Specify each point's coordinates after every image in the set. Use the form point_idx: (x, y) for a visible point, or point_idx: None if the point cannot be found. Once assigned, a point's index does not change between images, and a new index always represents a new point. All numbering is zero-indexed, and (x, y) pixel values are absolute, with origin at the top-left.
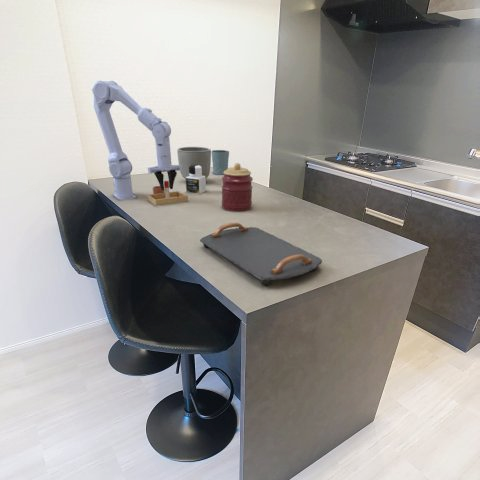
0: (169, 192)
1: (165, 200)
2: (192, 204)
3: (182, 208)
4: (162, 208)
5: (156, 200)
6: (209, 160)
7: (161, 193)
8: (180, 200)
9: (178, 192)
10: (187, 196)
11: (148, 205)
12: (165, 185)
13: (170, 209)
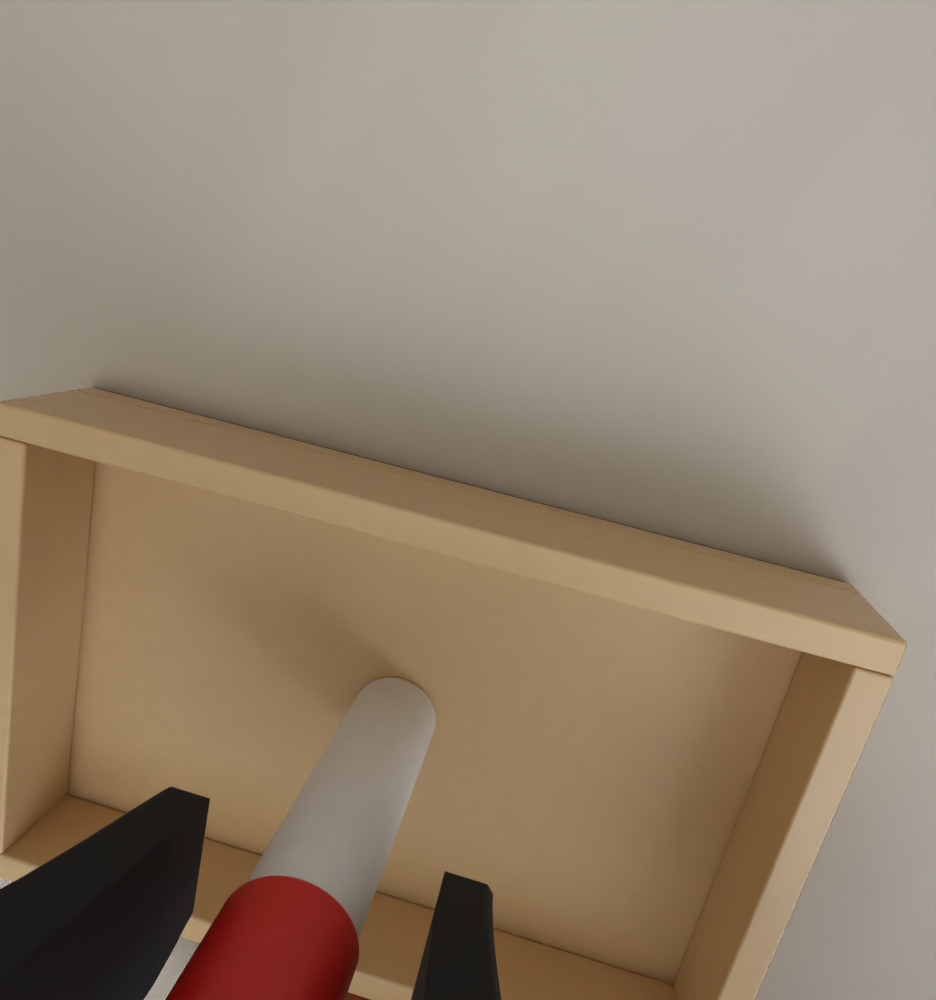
0: (187, 926)
1: (611, 553)
2: (108, 147)
3: (483, 6)
4: (855, 350)
5: (874, 632)
6: None
7: (375, 986)
8: (234, 437)
9: (12, 821)
10: (5, 402)
11: (917, 754)
12: (327, 984)
13: (769, 137)
